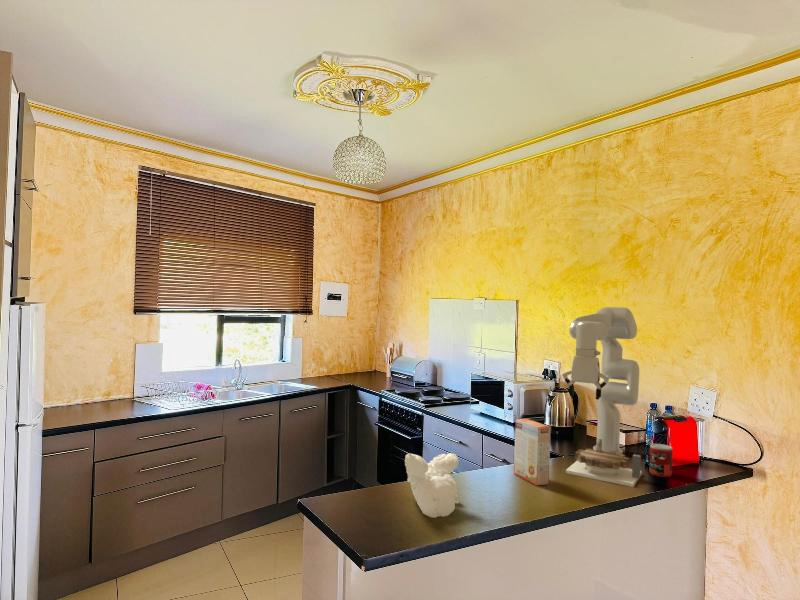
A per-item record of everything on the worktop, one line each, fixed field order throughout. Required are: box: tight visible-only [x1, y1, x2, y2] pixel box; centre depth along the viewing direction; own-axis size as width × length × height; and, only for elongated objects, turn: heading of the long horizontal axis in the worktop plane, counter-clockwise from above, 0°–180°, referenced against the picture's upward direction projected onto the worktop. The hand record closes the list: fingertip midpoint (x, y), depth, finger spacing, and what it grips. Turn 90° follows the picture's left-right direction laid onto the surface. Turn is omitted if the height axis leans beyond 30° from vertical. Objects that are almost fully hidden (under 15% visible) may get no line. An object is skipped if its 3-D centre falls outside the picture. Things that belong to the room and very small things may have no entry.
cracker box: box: [513, 418, 552, 486], centre depth 185 cm, size 14×6×21 cm, turn 22°
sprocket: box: [574, 438, 630, 469], centre depth 196 cm, size 19×19×7 cm
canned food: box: [648, 443, 674, 478], centre depth 198 cm, size 8×8×11 cm
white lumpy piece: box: [404, 452, 460, 519], centre depth 156 cm, size 19×20×20 cm
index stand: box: [565, 453, 643, 488], centre depth 195 cm, size 19×25×9 cm
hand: (584, 397), depth 195 cm, fingers open, 9 cm apart
